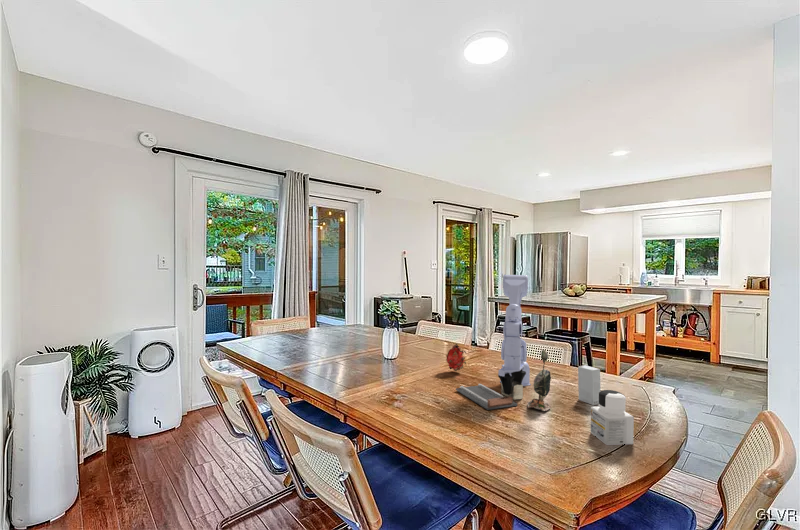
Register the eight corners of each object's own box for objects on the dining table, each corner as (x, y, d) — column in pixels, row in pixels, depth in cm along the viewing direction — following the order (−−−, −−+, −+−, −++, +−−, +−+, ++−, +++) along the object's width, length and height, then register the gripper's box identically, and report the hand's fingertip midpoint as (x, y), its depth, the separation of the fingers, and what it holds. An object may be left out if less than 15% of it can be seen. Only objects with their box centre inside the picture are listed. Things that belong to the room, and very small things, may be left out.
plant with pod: (558, 405, 132) (559, 346, 132) (544, 414, 124) (545, 352, 124) (535, 399, 138) (536, 343, 138) (520, 407, 130) (521, 348, 130)
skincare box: (601, 403, 134) (601, 369, 134) (592, 405, 132) (593, 370, 132) (585, 398, 140) (586, 364, 140) (577, 400, 138) (577, 366, 138)
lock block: (509, 392, 145) (509, 378, 145) (522, 398, 139) (522, 384, 138) (500, 393, 144) (501, 379, 144) (513, 400, 137) (513, 385, 137)
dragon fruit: (461, 375, 166) (461, 347, 166) (442, 372, 170) (443, 345, 170) (468, 370, 173) (468, 343, 173) (450, 367, 177) (450, 341, 177)
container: (590, 433, 111) (590, 387, 111) (615, 432, 112) (616, 387, 112) (606, 445, 104) (607, 397, 103) (633, 445, 104) (634, 396, 104)
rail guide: (482, 386, 151) (482, 379, 151) (517, 405, 132) (517, 397, 132) (455, 389, 147) (455, 383, 147) (487, 410, 127) (487, 402, 127)
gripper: (513, 350, 149) (513, 385, 149) (491, 355, 139) (490, 393, 139) (530, 353, 143) (530, 390, 144) (508, 359, 134) (507, 399, 134)
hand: (511, 392), depth 141 cm, fingers closed on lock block, 5 cm apart
